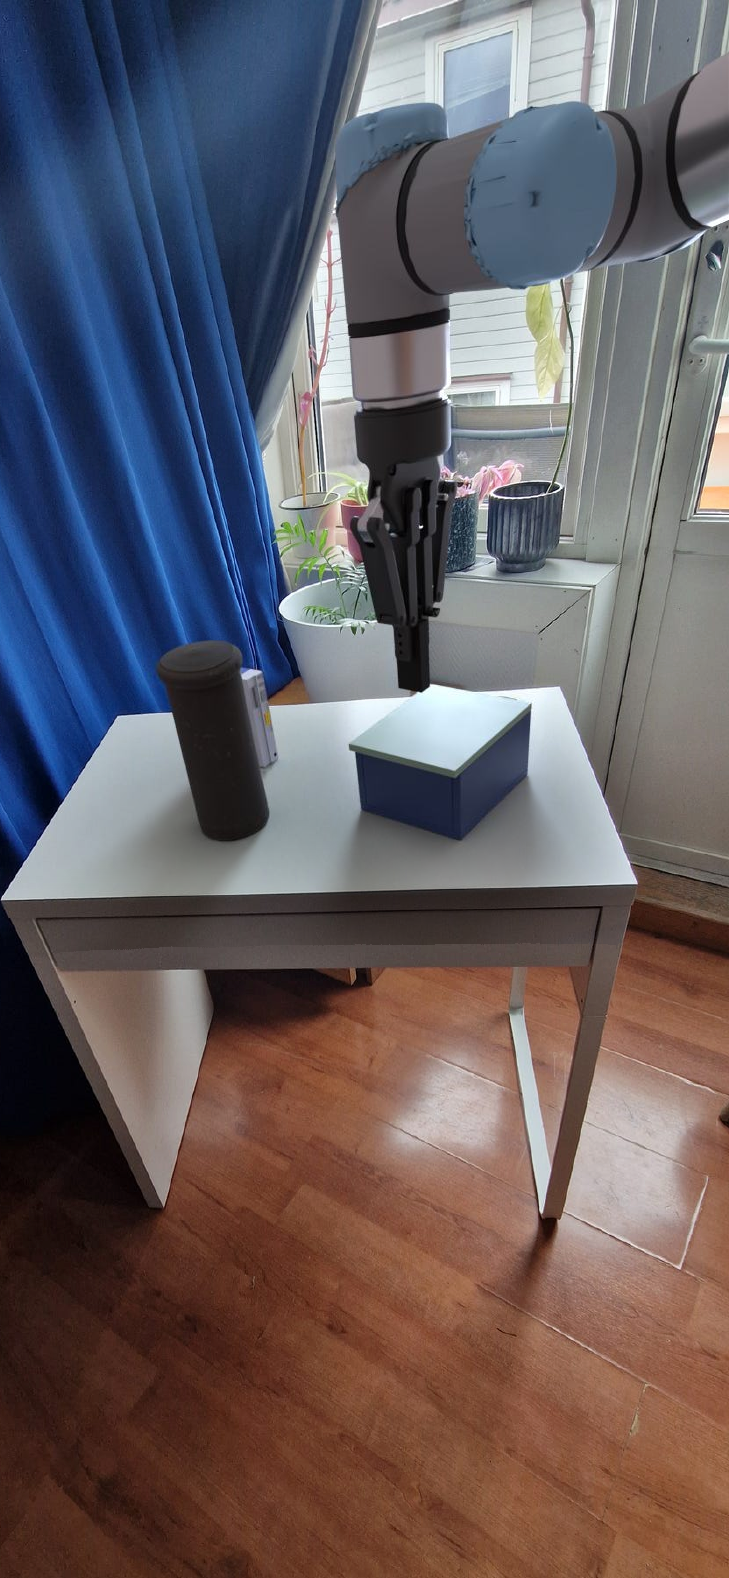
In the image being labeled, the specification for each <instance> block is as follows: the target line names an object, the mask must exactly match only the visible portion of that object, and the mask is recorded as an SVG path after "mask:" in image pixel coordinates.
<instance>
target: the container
mask: <svg viewBox="0 0 729 1578" xmlns="http://www.w3.org/2000/svg"><path fill="white" fill-rule="evenodd" d="M242 664H243V655H242V652H241V650H240V649H239V648H238V647H237V646H236V645H234V644H231V642H228V641H225V640H218V639H217V640H216V639H215V640H214V639H211V640H200V641H195V642H190V643H186V644H183V645H179V646H177V647H175V648H173V649H171V650H169V651H168V652H166V653H165V654H164V655H162V656H161V658H160V659H159V660H158V662H157V664H156V674H157V677H158V679H159V681H161V682H162V684H163V685H164V687H165V692H166V695H167V699H168V704H169V707H170V710H171V713H172V714H171V715H172V718H173V722H174V726H175V730H176V735H177V738H178V743H179V747H180V751H181V755H182V759H183V763H184V767H185V772H186V775H187V780H188V784H189V789H190V791H191V792H190V793H191V796H192V800H193V804H194V809H195V813H196V817H197V821H198V824H199V828H200V830H201V832H202V833H203V834H204V835H205V836H207V837H209V838H211V839H214V840H218V841H232V840H239V839H242V838H245V837H248V836H251V835H252V834H254V833H256V832H257V831H259V830H260V829H262V828H263V827H264V826H265V825H266V823H267V821H268V819H269V817H270V809H269V803H268V797H267V793H266V789H265V785H264V780H263V775H262V771H261V770H262V769H261V767H260V766H259V761H258V756H257V751H256V746H255V742H254V737H253V732H252V727H251V722H250V717H249V712H248V707H247V703H246V697H245V692H244V686H243V681H242V675H241V671H240V669H241V667H242Z"/></svg>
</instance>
